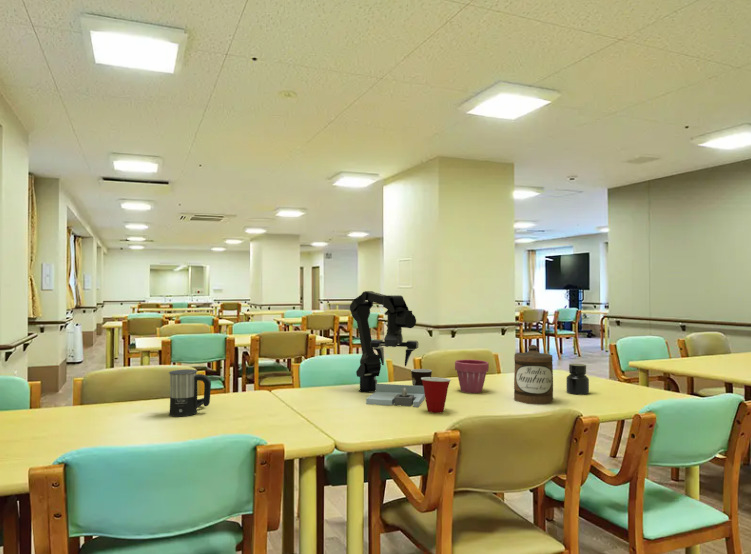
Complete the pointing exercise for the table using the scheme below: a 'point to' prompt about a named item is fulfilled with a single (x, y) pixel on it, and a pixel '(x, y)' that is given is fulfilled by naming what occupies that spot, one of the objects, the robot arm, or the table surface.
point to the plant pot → (471, 374)
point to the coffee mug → (419, 376)
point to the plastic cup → (435, 393)
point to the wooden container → (533, 377)
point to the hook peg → (404, 392)
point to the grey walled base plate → (389, 391)
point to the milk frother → (187, 392)
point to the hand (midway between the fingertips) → (394, 365)
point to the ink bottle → (577, 379)
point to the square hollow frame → (403, 400)
